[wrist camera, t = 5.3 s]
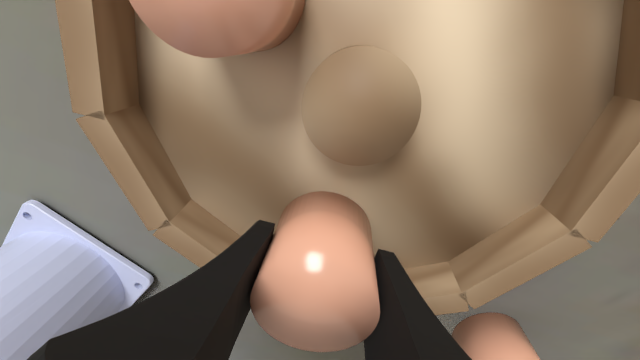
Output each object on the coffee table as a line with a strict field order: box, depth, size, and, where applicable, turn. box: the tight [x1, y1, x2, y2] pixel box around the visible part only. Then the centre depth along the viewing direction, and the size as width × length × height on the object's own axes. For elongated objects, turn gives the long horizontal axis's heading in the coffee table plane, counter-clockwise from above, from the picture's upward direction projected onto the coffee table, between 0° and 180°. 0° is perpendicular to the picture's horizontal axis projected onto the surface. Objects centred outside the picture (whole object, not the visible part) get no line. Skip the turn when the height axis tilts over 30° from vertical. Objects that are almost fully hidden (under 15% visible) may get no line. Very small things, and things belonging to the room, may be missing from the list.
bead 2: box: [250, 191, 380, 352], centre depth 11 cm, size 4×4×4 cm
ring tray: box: [55, 0, 640, 315], centre depth 11 cm, size 20×20×3 cm
